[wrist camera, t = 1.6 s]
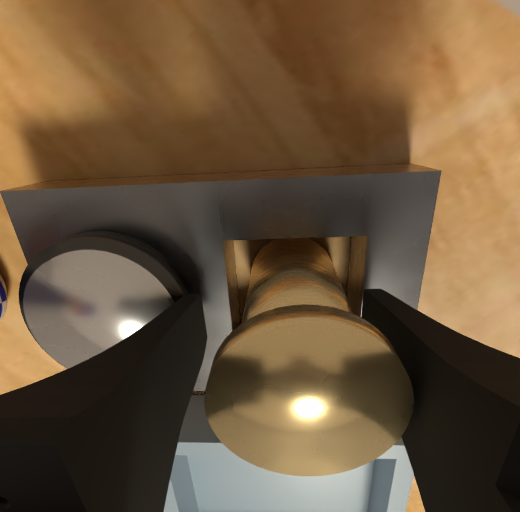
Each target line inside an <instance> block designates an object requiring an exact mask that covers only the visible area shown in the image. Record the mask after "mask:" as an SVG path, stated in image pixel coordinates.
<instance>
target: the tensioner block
mask: <svg viewBox="0 0 520 512" xmlns="http://www.w3.org/2000/svg"><path fill="white" fill-rule="evenodd" d="M440 176H441V170H436V169H432V168H428V167H424V166H419V165H415V164H391V165H370V166H350V167H329V168H309V169H288V170H267V171H247V172H226V173H206V174H185V175H164V176H144V177H123V178H103V179H82V180H61V181H46V182H41V183H36V184H32V185H27V186H22V187H17V188H13V189H8V190H3V191H0V193H1V195H2V198H3V201H4V203H5V206H6V209H7V211H8V214H9V216H10V219H11V222H12V224H13V227H14V229H15V232H16V235H17V237H18V240H19V242H20V245H21V248H22V250H23V253H24V256H25V258H26V261H27V263H28V266H27V267H26V269H25V271H24V273H23V275H22V279H21V282H20V288H19V303H20V308H21V313H22V316H23V319H24V321H25V323H26V325H27V327H28V330H29V331H30V333H31V334H32V336H33V337H34V339H35V340H36V341H37V343H38V344H39V345H40V346H41V348H42V349H43V350H44V351H45V352H46V353H47V354H48V355H50V356H51V357H52V358H53V359H54V360H55V361H57V362H58V363H59V364H61V365H62V366H64V367H65V368H67V369H69V368H71V367H73V366H75V365H77V364H79V363H81V362H83V361H85V360H87V359H89V358H91V357H93V356H95V355H97V354H99V353H101V352H103V351H105V350H106V349H108V348H110V347H112V346H113V345H115V344H117V343H119V342H120V341H122V340H123V339H125V338H127V337H128V336H130V335H131V334H133V333H134V332H135V331H137V330H138V329H140V328H141V327H143V326H144V325H146V324H147V323H148V322H150V321H151V320H153V319H154V318H155V317H156V316H158V315H159V314H160V313H162V312H163V311H164V310H166V309H167V308H168V307H169V306H171V305H172V304H173V303H175V302H176V301H177V300H179V299H180V298H181V297H183V296H184V295H187V294H201V297H202V303H203V310H204V317H205V324H206V330H207V337H208V338H207V343H206V349H205V354H204V359H203V363H202V366H201V369H200V372H199V375H198V378H197V381H196V384H195V387H194V390H193V391H205V388H206V385H207V381H208V377H209V374H210V370H211V367H212V363H213V359H214V356H215V354H216V352H217V350H218V348H219V347H220V345H221V344H222V342H223V341H224V339H225V338H226V337H227V336H228V335H229V334H230V333H231V332H232V331H233V330H234V329H235V328H237V327H238V326H239V325H240V324H242V322H241V319H240V308H239V297H238V286H237V276H236V265H235V254H234V243H233V240H253V239H283V238H314V237H344V236H351V246H350V261H349V276H348V291H347V299H348V301H349V304H350V306H351V308H352V311H353V313H354V314H355V315H357V316H359V317H361V315H362V304H363V293H364V289H382V290H384V291H386V292H388V293H390V294H391V295H393V296H395V297H396V298H398V299H400V300H401V301H403V302H404V303H406V304H408V305H409V306H411V307H413V308H414V309H416V310H417V308H418V302H419V297H420V291H421V285H422V279H423V274H424V268H425V262H426V256H427V251H428V245H429V239H430V233H431V227H432V222H433V216H434V210H435V204H436V199H437V193H438V187H439V181H440Z"/></svg>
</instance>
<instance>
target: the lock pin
mask: <svg viewBox="0 0 520 512" xmlns="http://www.w3.org/2000/svg"><path fill="white" fill-rule="evenodd" d="M204 405H205V412H206V416H207V420H208V422H209V424H210V426H211V428H212V430H213V432H214V433H215V435H216V436H217V437H218V439H219V440H220V441H221V442H222V443H223V444H224V445H225V446H226V447H227V448H228V449H229V450H230V451H231V452H233V453H234V454H236V455H237V456H238V457H240V458H241V459H243V460H245V461H247V462H249V463H251V464H253V465H255V466H257V467H260V468H263V469H266V470H269V471H272V472H276V473H281V474H286V475H293V476H324V475H332V474H337V473H342V472H345V471H349V470H352V469H355V468H358V467H360V466H363V465H365V464H367V463H369V462H371V461H373V460H375V459H376V458H378V457H379V456H381V455H382V454H384V453H385V452H386V451H388V450H389V449H390V448H391V447H392V446H393V445H394V444H395V443H396V442H397V441H398V440H399V439H400V437H401V436H402V434H403V433H404V432H405V430H406V428H407V426H408V424H409V422H410V419H411V416H412V413H413V406H414V394H413V388H412V384H411V380H410V378H409V376H408V374H407V372H406V370H405V368H404V366H403V364H402V362H401V361H400V359H399V357H398V355H397V353H396V351H395V350H394V348H393V346H392V345H391V343H390V342H389V340H388V339H387V338H386V337H385V336H384V335H383V334H382V333H381V331H380V330H379V329H377V328H376V327H375V326H373V325H372V324H371V323H369V322H368V321H366V320H364V319H363V318H361V317H359V316H357V315H355V314H354V313H353V311H352V308H351V306H350V304H349V301H348V299H347V297H346V294H345V292H344V290H343V287H342V285H341V283H340V280H339V278H338V276H337V273H336V271H335V268H334V266H333V264H332V261H331V259H330V257H329V255H328V253H327V252H326V251H325V249H324V248H323V247H322V246H320V245H319V244H318V243H316V242H315V241H313V240H311V239H309V238H283V239H275V240H273V241H271V242H269V243H268V244H266V245H265V246H264V247H263V248H262V249H261V250H260V251H259V252H258V254H257V255H256V257H255V259H254V261H253V265H252V270H251V275H250V280H249V286H248V291H247V297H246V302H245V308H244V313H243V319H242V324H240V325H239V326H238V327H237V328H235V329H234V330H233V331H232V332H231V333H230V334H229V335H228V336H227V337H226V338H225V339H224V341H223V342H222V344H221V345H220V347H219V348H218V350H217V352H216V354H215V356H214V359H213V363H212V367H211V370H210V374H209V377H208V381H207V385H206V388H205V395H204Z"/></svg>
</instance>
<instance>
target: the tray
mask: <svg viewBox="0 0 520 512" xmlns="http://www.w3.org/2000/svg"><path fill="white" fill-rule="evenodd" d="M413 476H414V473H413V470H412V467H411V464H410V461H409V458H408V454H407V452H406V449H405V446H404V443H403V440H402V437H400V439H399V440H398V441H397V442H396V443H395V444H394V445H393V446H392V447H391V448H390V449H389V450H388V451H386V452H385V453H384V454H382V455H381V456H379V457H378V458H376V459H375V460H373V461H371V462H369V463H367V464H365V465H363V466H360V467H358V468H355V469H352V470H349V471H345V472H342V473H337V474H332V475H324V476H293V475H286V474H281V473H276V472H272V471H269V470H266V469H263V468H260V467H257V466H255V465H253V464H251V463H249V462H247V461H245V460H243V459H241V458H240V457H238V456H237V455H236V454H234V453H233V452H231V451H230V450H229V449H228V448H227V447H226V446H225V445H224V444H223V443H222V442H221V441H220V440H219V439H218V437H217V436H216V435H215V433H214V432H213V430H212V428H211V426H210V424H209V422H208V420H207V416H206V412H205V405H204V395H192V396H191V399H190V401H189V404H188V407H187V410H186V413H185V417H184V420H183V424H182V427H181V431H180V436H179V440H178V444H177V449H176V453H175V458H174V463H173V467H172V472H171V477H170V481H169V486H168V491H167V497H166V502H165V507H164V512H406V507H407V503H408V498H409V494H410V489H411V485H412V480H413Z"/></svg>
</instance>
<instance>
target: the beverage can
mask: <svg viewBox="0 0 520 512" xmlns="http://www.w3.org/2000/svg"><path fill="white" fill-rule="evenodd" d="M6 309H7V290H6V285H5V282H4V280H3V278H2V276H1V275H0V321H1V319H2V318H3V316H4V314H5V312H6Z"/></svg>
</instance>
